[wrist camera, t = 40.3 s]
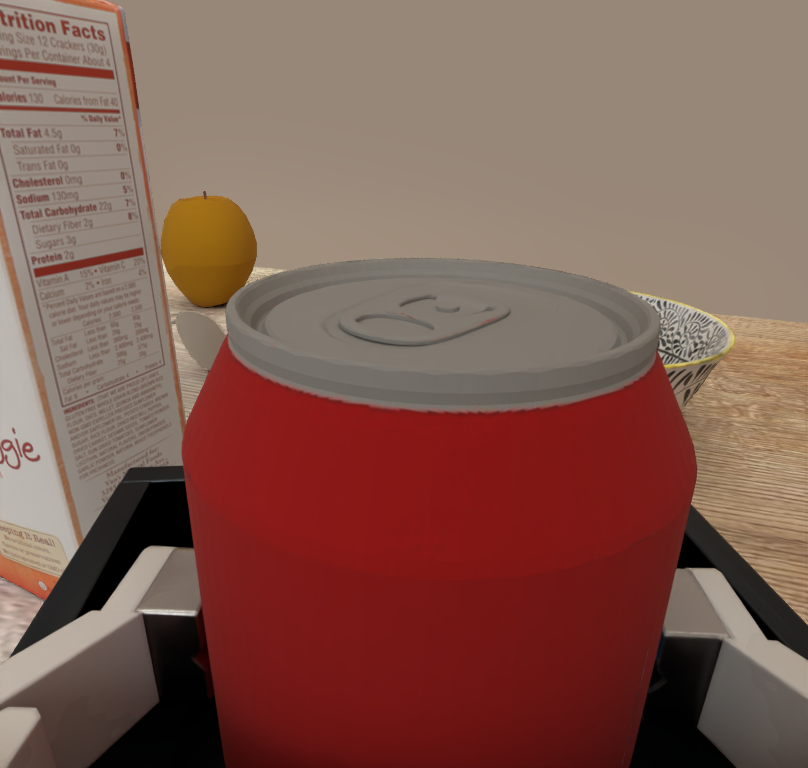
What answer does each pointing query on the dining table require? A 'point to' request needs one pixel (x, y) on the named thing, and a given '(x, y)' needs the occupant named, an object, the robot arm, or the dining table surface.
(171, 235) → the apple
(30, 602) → the dining table surface
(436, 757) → the beverage can
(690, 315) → the bowl
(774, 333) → the dining table surface
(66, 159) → the cracker box
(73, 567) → the black open box
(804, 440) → the dining table surface
